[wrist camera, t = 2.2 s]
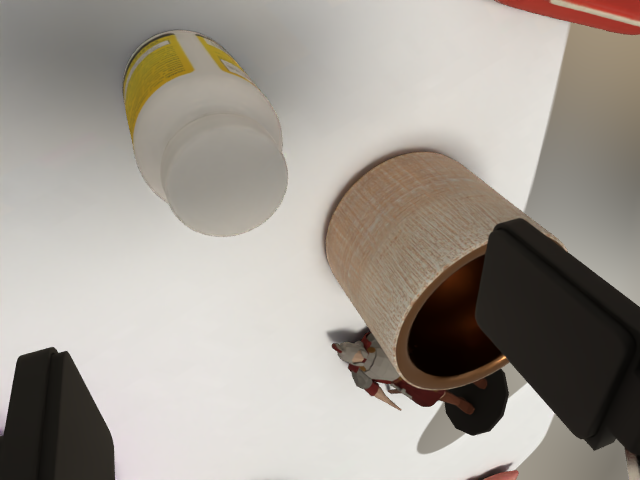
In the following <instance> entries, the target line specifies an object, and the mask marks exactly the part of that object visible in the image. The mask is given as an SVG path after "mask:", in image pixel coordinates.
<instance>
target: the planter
mask: <svg viewBox="0 0 640 480" xmlns="http://www.w3.org/2000/svg"><path fill="white" fill-rule="evenodd" d="M517 218H522V219H524V220H526V221H527V222H529V223H530V224H531V225H533V226H534V227H535V228H537V229H538V230H539V231H541V232H542V233H543V234H545V235H546V236H547V237H548V238H550V239H551V240H552V241H554V242H555V243H556V244H558V245H559V246H560V247H562V248H563V249H564V250H566V251H567V249H566V247H565V246H564V244H563V243H562V242H561V241H560V240H559V239H557V238H556V237H555V236H554V235H552V234H551V233H550V232H548V231H547V230H546V229H544V228H543V227H542V226H540V225H539V224H538V223H536V222H535V221H534V220H532V219H531V218H530V217H528V216H527V215H526V214H525V213H523V212H522V211H521V210H519V209H518V208H517V207H515V206H514V205H513V204H512V203H510V202H509V201H508V200H506V199H505V198H504V197H503V196H501V195H500V194H499V193H498V192H496V191H495V190H494V189H492V188H491V187H490V186H489V185H487V184H486V183H485V182H484V181H482V180H481V179H480V178H478V177H477V176H476V175H475V174H473V173H472V172H471V171H469V170H468V169H467V168H465V167H464V166H463V165H461V164H460V163H459V162H457V161H455V160H453V159H451V158H449V157H447V156H444V155H442V154H438V153H434V152H413V153H408V154H403V155H400V156H397V157H394V158H392V159H389V160H387V161H385V162H383V163H381V164H379V165H378V166H376V167H375V168H373V169H372V170H370V171H369V172H367V173H366V174H365V175H364V176H362V177H361V178H360V179H359V180H358V181H357V182H356V183H355V184H354V185H353V186H352V187H351V188H350V189H349V190H348V192H347V193H346V194H345V195H344V197H343V198H342V199H341V201H340V203H339V204H338V206H337V208H336V210H335V211H334V214H333V216H332V218H331V221H330V223H329V227H328V231H327V237H326V254H327V259H328V262H329V265H330V268H331V270H332V272H333V275H334V276H335V278H336V279H337V281H338V283H339V284H340V286H341V287H342V289H343V290H344V292H345V293H346V295H347V296H348V298H349V299H350V301H351V302H352V304H353V305H354V307H355V308H356V310H357V311H358V313H359V314H360V316H361V317H362V319H363V320H364V322H365V323H366V325H367V326H368V328H369V329H370V331H371V332H372V334H373V335H374V337H375V338H376V340H377V341H378V343H379V344H380V346H381V348H382V349H383V351H384V352H385V354H386V355H387V357H388V358H389V360H390V362H391V363H392V365H393V366H394V368H395V369H396V371H397V372H398V374H399V375H400V376H401V377H402V379H404V380H405V381H406V382H407V383H409V384H410V385H412V386H415V387H417V388H421V389H426V390H446V389H452V388H457V387H461V386H464V385H467V384H470V383H473V382H475V381H478V380H480V379H482V378H484V377H486V376H488V375H490V374H492V373H494V372H496V371H497V370H499V369H500V368H502V367H504V366H505V365H506V364H508V363H509V361H508V359H507V358H506V357H505V356H504V355H503V354H502V353H501V351H500V350H499V349H498V348H497V347H496V346H495V345H494V343H493V342H492V341H491V340H490V339H489V338H488V337H487V336H486V334H485V333H484V332H483V331H482V330H481V329H480V327H479V326H478V324H477V322H476V319H475V309H476V303H477V298H478V292H479V287H480V281H481V276H482V270H483V265H484V259H485V254H486V249H487V243H488V238H489V234H490V233H491V232H493V229H494V227H495V226H496V225H497V224H499V223H502V222H506V221H509V220H513V219H517ZM567 252H568V251H567Z"/></svg>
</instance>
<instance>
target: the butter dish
mask: <svg viewBox="0 0 640 480" xmlns="http://www.w3.org/2000/svg"><path fill="white" fill-rule="evenodd" d="M495 1H496V2H498V3H501V4H504V5H507V6H510V7H513V8H517V9H521V10H525V11H528V12H532V13H535V14H540V15H544V16H548V17H552V18H556V19H559V20H564V21H568V22H573V23H577V24H581V25H586V26H590V27H594V28H598V29H603V30H606V31H609V32H614V33H620V34H628V35H638V34H640V0H495Z"/></svg>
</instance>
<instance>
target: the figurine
mask: <svg viewBox="0 0 640 480" xmlns="http://www.w3.org/2000/svg"><path fill="white" fill-rule="evenodd" d="M332 348H333V349H335V350H336V351H337V353H338V356H339V357H340V358H341V359H342V360H343V361H346V362H348V363H350V364H349V366H348V369H349V370H350V371H351V372H352V377H353V379H354V381H355V383H356V386H358V387H360V388H362V389H364V390H366V391H367V392H368V393H369V394H370V395H371V396H375V397H377V398H378V399H380V400H382V401H384V402H386V403H388V404H389V405H391V406H393V407H395V408H397V409H398V410H400V411H401V410H402V409H400V408H399V407H398V406H397V405H395V403H393V402H392V401H391V400H390V399H389V398H388V397H387V396H386V395H385V394H384V392H383V391H382V389H381V387H379V384H378V383H376V382H380V383H385V384H390V385H391V386H393V387H394V388H396V389H394V390H388V392H389V393H391V394H394V393H402V394H404V395H406V396H407V397H409V398H410V399H412V400H413V401H414V402H415V403H417V404H419V405H421V406H423V407H430V406H432V405H434V404H435V403H436V402H437V401H438V400H440V401H443V402H445V408H446V414H447V415H448V417H449V418H450V420H451V422H452V423H453V425H454V426H455V428H456V429H459V430H461V431H463V432H465V433H467V434H470V435H472V436H474V435H478V434H481V433H485V432H489V431H491V429H492V428H493V427H494V426H495V425H496V424H497V423H498V421H499V420H500V419H501V418H502V417H503V415H504V412H505V408H506V404H507V400H508V395H509V392H508V387H507V382H506V377H505V373H504V372H503V371H502V369H501V368H500V369H499V370H497V371H496V372H494V373H492V374H490V375H488V376H486V377H484V378H482V379H480V380H478V381H475V382H473V383H470V384H467V385H464V386H461V387H457V388H452V389H446V390H426V389H421V388H417V387H415V386H412V385H410V384H409V383H407V382H406V381H405V380H404V379H402V377H401V376H400V375H399V374H398V372H397V371H396V369H395V368H394V366H393V365H392V363H391V362H390V360H389V358H388V357H387V355H386V354H385V352H384V351H383V349H382V348H381V346H380V344H379V343H378V341H377V340H376V338H375V337H374V335H373V334H372V332H368V333H366V334H365V335H364V337H363V339H362V340H361V341H356V342H355V343H354V344H353V343H350V342H343V343H341V344H340V345H339V344H336V343H333V344H332Z"/></svg>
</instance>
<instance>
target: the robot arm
mask: <svg viewBox="0 0 640 480" xmlns="http://www.w3.org/2000/svg"><path fill="white" fill-rule="evenodd" d="M475 319H476V322H477V324H478V326H479V327H480V329H481V330H482V331H483V332H484V333H485V334H486V336H487V337H488V338H489V339H490V340H491V341H492V342H493V343H494V345H495V346H496V347H497V348H498V349H499V350H500V351H501V353H502V354H503V355H504V356H505V357H506V358H507V359H508V361H509V362H510V363H511V364H512V365H513V366H514V367H515V368H516V370H517V371H518V372H519V373H520V374H521V375H522V376H523V377H524V378H525V380H526V381H527V382H528V383H529V384H530V385H531V387H532V388H533V389H534V390H535V391H536V392H537V393H538V395H539V396H540V397H541V398H542V399H543V400H544V401H545V403H546V404H547V405H548V406H549V407H550V408H551V409H552V410H553V412H554V413H555V414H556V415H557V416H558V417H559V418H560V419H561V421H562V422H563V423H564V424H565V425H566V426H567V428H569V430H570V431H571V432H572V433H573V434H574V435H575V436H576V437H578V438H580V439H584V440H585V441H586V442H587V443H588V444H589V445H590V446H591V448H593V450H597V449H599V448H601V447H604V446H606V445H609V444H611V443H613V442H614V441H615V439H617V440H618V441H619V442H620V443H621V444H622V445H623V446H624V447H625V454H626V461H627V469H628V476H629V480H640V307H639V306H638V305H636V304H635V303H634V302H632V301H631V300H630V299H628V298H627V297H626V296H625V295H623V294H622V293H621V292H619V291H618V290H617V289H615V288H614V287H613V286H611V285H610V284H609V283H608V282H606V281H605V280H603V279H602V278H601V277H600V276H598V275H597V274H596V273H594V272H593V271H592V270H590V269H589V268H588V267H587V266H585V265H584V264H583V263H581V262H580V261H578V260H577V259H576V258H575V257H573V256H572V255H571V254H569V253H568V252H567V251H566V250H564V249H563V248H562V247H560V246H559V245H558V244H556V243H555V242H554V241H552V240H551V239H550V238H548V237H547V236H546V235H545V234H543V233H542V232H541V231H539V230H538V229H537V228H535V227H534V226H533V225H531V224H530V223H529V222H527V221H526V220H524V219H522V218H517V219H513V220H509V221H506V222H502V223H499V224H497V225H496V226H495V227H494V229H493V232H491V233H490V234H489V238H488V243H487V249H486V254H485V259H484V265H483V270H482V276H481V281H480V287H479V292H478V298H477V303H476V309H475ZM0 480H115V465H114V445H113V440H112V436H111V433H110V431H109V429H108V427H107V425H106V423H105V421H104V419H103V417H102V415H101V414H100V412H99V410H98V408H97V406H96V404H95V402H94V400H93V398H92V396H91V394H90V392H89V390H88V389H87V387H86V385H85V383H84V381H83V379H82V377H81V375H80V373H79V371H78V369H77V367H76V365H75V364H74V362H73V360H72V358H71V356H70V354H69V353H68V352H67V351H64V352H61V353H58V352H57V350H56V349H55V348H54V347H50V348H46V349H43V350H39V351H36V352H32V353H28V354H25V355H21V356H19V358H18V359H17V363H16V368H15V374H14V380H13V385H12V391H11V397H10V402H9V408H8V414H7V419H6V425H5V431H4V435H3V436H0Z"/></svg>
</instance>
